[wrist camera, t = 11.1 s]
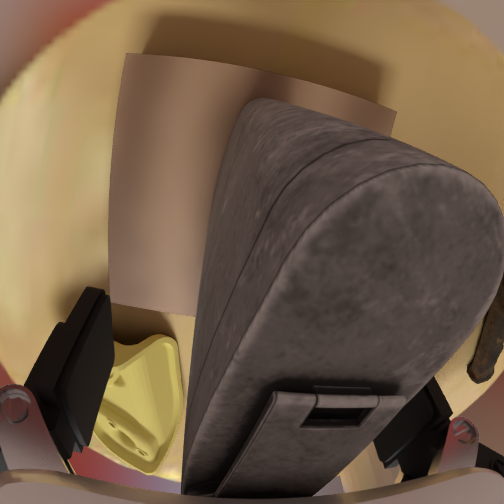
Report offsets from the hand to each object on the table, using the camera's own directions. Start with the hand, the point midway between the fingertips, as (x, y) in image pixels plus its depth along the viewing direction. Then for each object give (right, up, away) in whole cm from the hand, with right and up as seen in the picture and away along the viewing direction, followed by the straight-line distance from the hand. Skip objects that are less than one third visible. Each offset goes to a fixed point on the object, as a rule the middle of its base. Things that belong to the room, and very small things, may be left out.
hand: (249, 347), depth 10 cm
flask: (-1, +5, +9) cm, 11 cm away
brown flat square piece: (-1, +7, +12) cm, 14 cm away
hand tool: (+29, -5, +21) cm, 36 cm away
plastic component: (-14, -11, +22) cm, 28 cm away
